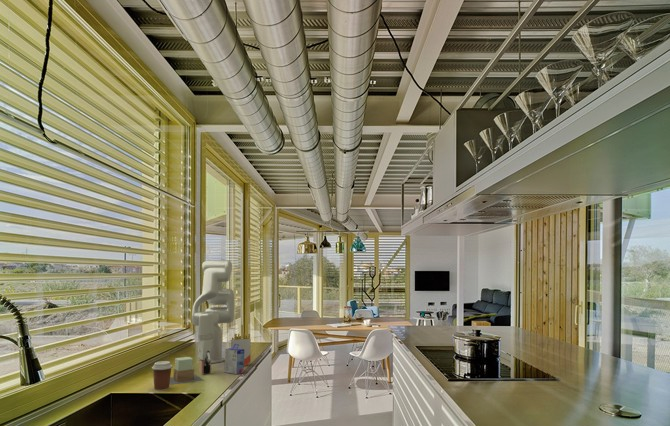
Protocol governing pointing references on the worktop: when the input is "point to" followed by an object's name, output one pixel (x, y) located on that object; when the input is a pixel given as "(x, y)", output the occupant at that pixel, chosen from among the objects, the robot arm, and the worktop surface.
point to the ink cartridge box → (234, 360)
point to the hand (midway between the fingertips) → (205, 372)
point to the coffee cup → (162, 375)
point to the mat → (196, 378)
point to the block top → (183, 363)
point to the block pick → (201, 367)
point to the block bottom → (183, 375)
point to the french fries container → (243, 345)
